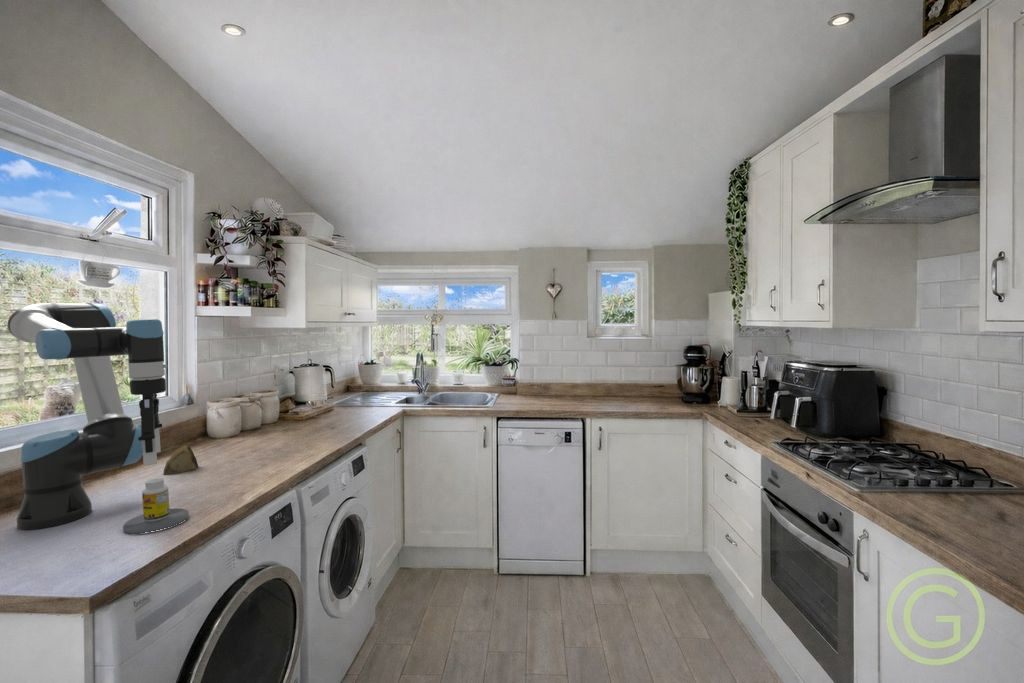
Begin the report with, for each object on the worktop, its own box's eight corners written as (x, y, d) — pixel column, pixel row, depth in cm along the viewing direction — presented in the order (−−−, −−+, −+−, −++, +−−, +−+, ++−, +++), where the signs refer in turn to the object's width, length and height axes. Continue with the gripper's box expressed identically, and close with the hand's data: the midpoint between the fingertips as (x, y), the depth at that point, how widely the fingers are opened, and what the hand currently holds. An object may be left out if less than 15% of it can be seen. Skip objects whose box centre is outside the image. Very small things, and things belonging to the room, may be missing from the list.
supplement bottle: (139, 520, 129) (137, 482, 128) (163, 513, 133) (160, 475, 133) (150, 524, 126) (147, 485, 125) (174, 516, 131) (171, 478, 130)
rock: (155, 471, 170) (185, 465, 172) (158, 449, 175) (188, 443, 176) (171, 481, 179) (199, 475, 181) (173, 460, 183) (201, 454, 185)
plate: (120, 539, 120) (119, 534, 120) (127, 520, 132) (126, 516, 132) (188, 525, 128) (188, 520, 127) (189, 508, 139) (189, 504, 139)
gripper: (162, 381, 120) (167, 467, 121) (167, 372, 141) (172, 446, 142) (123, 384, 115) (128, 473, 117) (135, 375, 136) (139, 450, 138)
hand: (152, 458), depth 129 cm, fingers open, 13 cm apart
